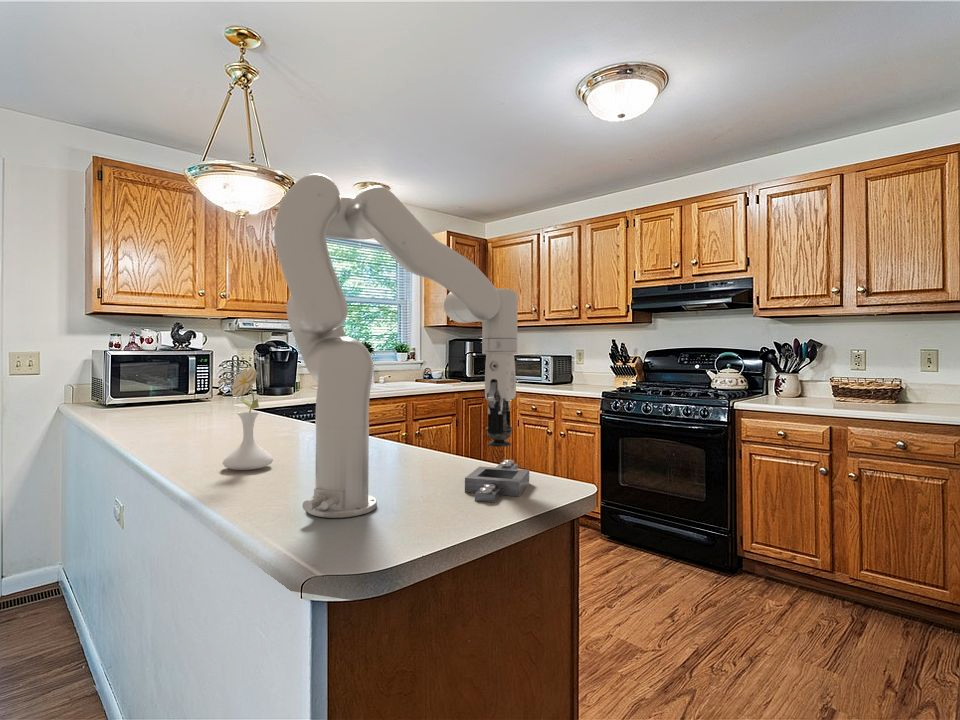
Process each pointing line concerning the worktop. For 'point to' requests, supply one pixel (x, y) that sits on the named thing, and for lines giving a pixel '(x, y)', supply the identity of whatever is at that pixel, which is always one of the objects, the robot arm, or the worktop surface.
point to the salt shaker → (506, 431)
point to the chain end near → (493, 491)
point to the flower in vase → (247, 429)
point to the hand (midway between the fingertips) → (499, 430)
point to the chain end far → (502, 470)
